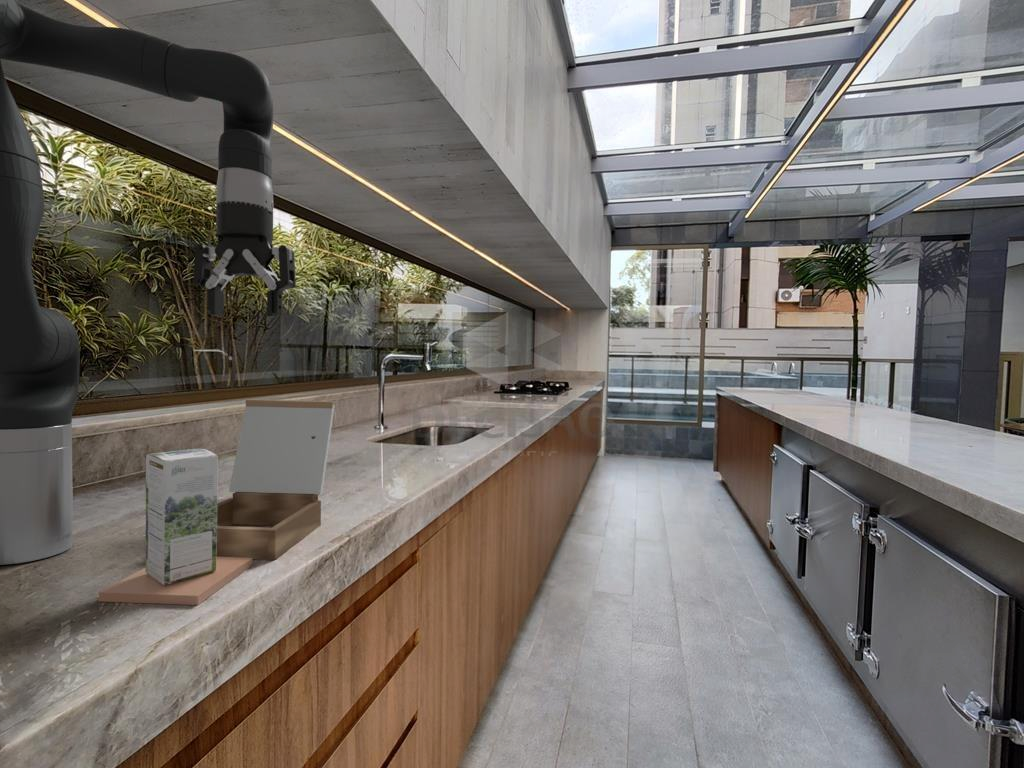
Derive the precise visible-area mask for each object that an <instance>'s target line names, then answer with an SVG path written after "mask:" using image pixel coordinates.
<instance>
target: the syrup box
mask: <svg viewBox="0 0 1024 768" xmlns="http://www.w3.org/2000/svg"><path fill="white" fill-rule="evenodd" d="M145 456H146V458H145V568H146V573H147V574H148V575H150V576H151V577H152V578H154V579H155V580H157V581H158V582H160V583H161V584H163V585H164V586H165V585H169V584H172V583H176V582H179V581H183V580H186V579H190V578H193V577H197V576H200V575H204V574H207V573H211V572H214V571H216V563H217V504H218V492H219V491H218V485H219V481H218V480H219V477H218V476H219V456H218V455H217V454H215V453H214V452H212V451H210V450H208V449H204V448H192V449H182V450H172V451H165V452H164V451H163V452H156V453H155V452H154V453H147V454H146V455H145Z"/></svg>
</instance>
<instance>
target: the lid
mask: <svg viewBox="0 0 1024 768" xmlns="http://www.w3.org/2000/svg"><path fill="white" fill-rule="evenodd" d="M244 408H245V409H244V412H243V413H244V414H243V418H242V423H241V429H240V432H239V437H238V443H237V448H236V454H235V459H234V464H233V469H232V474H231V479H230V484H229V490H228V492H230V493H235V492H254V493H288V494H315V495H318V496H320V495H323V491H324V489H323V488H324V481H325V476H326V475H325V474H326V470H327V464H328V457H329V456H328V455H329V454H328V453H329V448H330V441H331V434H332V433H331V432H332V426H333V420H334V412H335V409H336V401H331V400H330V401H326V400H325V401H321V400H320V401H319V400H280V399H279V400H277V399H245V407H244ZM311 436H315V438H314V439H312V437H311Z"/></svg>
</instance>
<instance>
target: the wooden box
mask: <svg viewBox="0 0 1024 768" xmlns="http://www.w3.org/2000/svg"><path fill="white" fill-rule="evenodd" d="M311 437H312V439H314V438H315V436H311ZM321 519H322V501H321V500H319V495H315V494H288V493H254V492H232V497H229V498H227V499H224V500H222V501H220V502H217V557H247V558H253V560H263V561H264V560H267V561H268V560H269V561H270V560H271V561H276V560H277V559H278V558H280V557H281V556H283V555H284V554H285V553H287V551H289V550H290V549H292V548H293V547H295V546H296V545H297V544H298V543H299V542H301V541H302V540H303V539H304V538H306V537H307V536H309V535H310V534H311V533H313V531H315V530H316V529H318V528H319V527H320V526H321V524H322V522H321V521H322V520H321ZM243 524H244V525H245V524H247V525H248V526H234V525H243ZM232 525H233V526H232ZM249 525H250V526H249ZM258 526H260V527H258ZM262 526H272V527H262Z"/></svg>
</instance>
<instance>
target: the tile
mask: <svg viewBox="0 0 1024 768" xmlns="http://www.w3.org/2000/svg"><path fill="white" fill-rule="evenodd" d="M253 560H254V559H253V558H247V557H217V563H216V571H214V572H211V573H207V574H204V575H200V576H197V577H193V578H190V579H186V580H183V581H179V582H176V583H172V584H169V585H165V586H164V585H163V584H161V583H160V582H158V581H157V580H155V579H154V578H152V577H151V576H150V575H148V574H147V573H146V567H143V568H142V569H140V570H138V571H136V572H134V573H132V574H130V575H128V576H127V577H125V578H123V579H120V580H119V581H118V582H115V583H113V584H112V585H110V586H108V587H106V588H104V589H102V590H100V591H98V602H105V603H106V602H110V603H131V604H132V603H133V604H135V603H136V604H137V603H139V604H161V605H164V604H165V605H185V606H190V605H191V606H198V605H200V604H201V603H203V602H204V601H206V599H208V598H210V597H211V596H212V595H214V594H215V593H216V592H218V591H220V590H221V589H222V588H224V587H225V586H226V585H227V584H229V583H231V582H232V581H233V580H235V579H236V578H238V576H240V575H241V574H243V573H244V572H245V571H247V570H248V569H249V568H251V567H253Z"/></svg>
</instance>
